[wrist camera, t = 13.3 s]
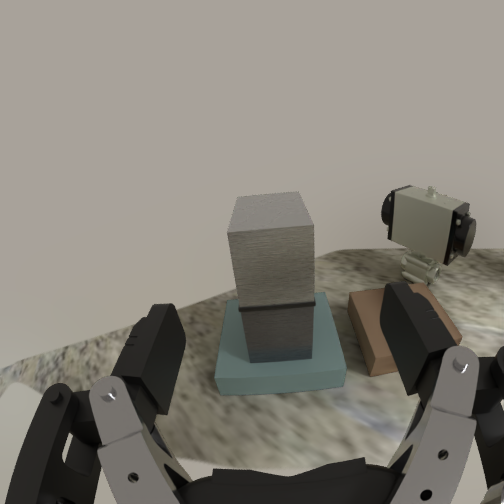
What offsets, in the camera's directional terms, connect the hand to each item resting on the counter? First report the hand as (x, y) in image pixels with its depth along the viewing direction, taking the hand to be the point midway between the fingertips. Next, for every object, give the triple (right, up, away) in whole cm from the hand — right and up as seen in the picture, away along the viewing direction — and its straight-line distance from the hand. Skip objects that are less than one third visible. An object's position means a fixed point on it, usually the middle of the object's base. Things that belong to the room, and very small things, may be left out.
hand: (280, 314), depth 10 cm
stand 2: (+13, -6, +14) cm, 20 cm away
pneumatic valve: (+21, -1, +21) cm, 30 cm away
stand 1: (+2, -7, +15) cm, 16 cm away
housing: (+1, -4, +13) cm, 14 cm away
